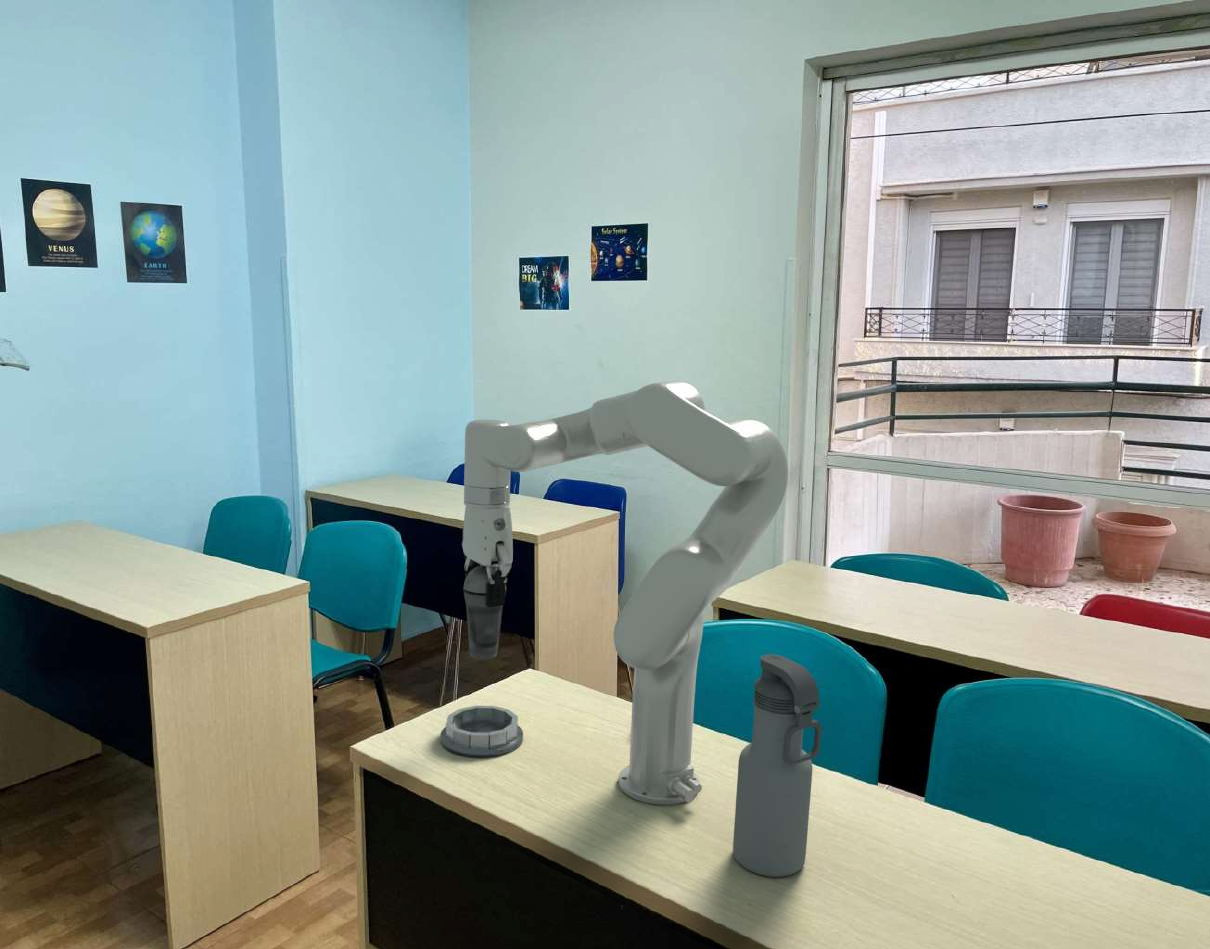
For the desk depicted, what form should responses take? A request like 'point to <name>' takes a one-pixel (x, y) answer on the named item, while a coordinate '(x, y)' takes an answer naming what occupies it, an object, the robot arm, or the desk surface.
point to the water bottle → (777, 771)
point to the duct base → (481, 732)
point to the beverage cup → (481, 616)
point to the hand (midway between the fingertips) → (484, 598)
